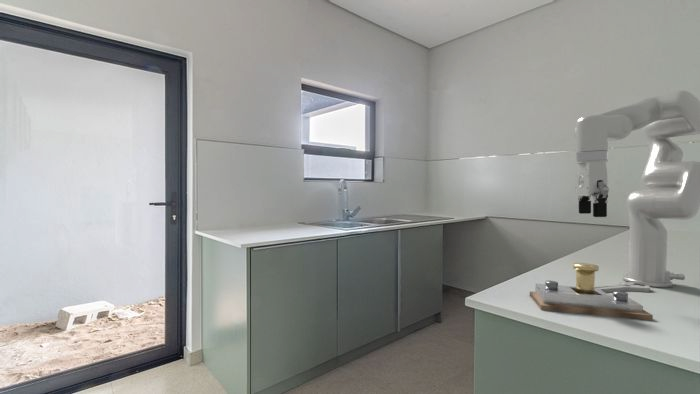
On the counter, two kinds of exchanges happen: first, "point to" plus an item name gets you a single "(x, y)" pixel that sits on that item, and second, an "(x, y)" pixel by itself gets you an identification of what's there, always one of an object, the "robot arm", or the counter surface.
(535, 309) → the counter surface
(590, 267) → the bolt
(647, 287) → the adjustable wrench
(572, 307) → the board
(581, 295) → the metal plate with bolts
